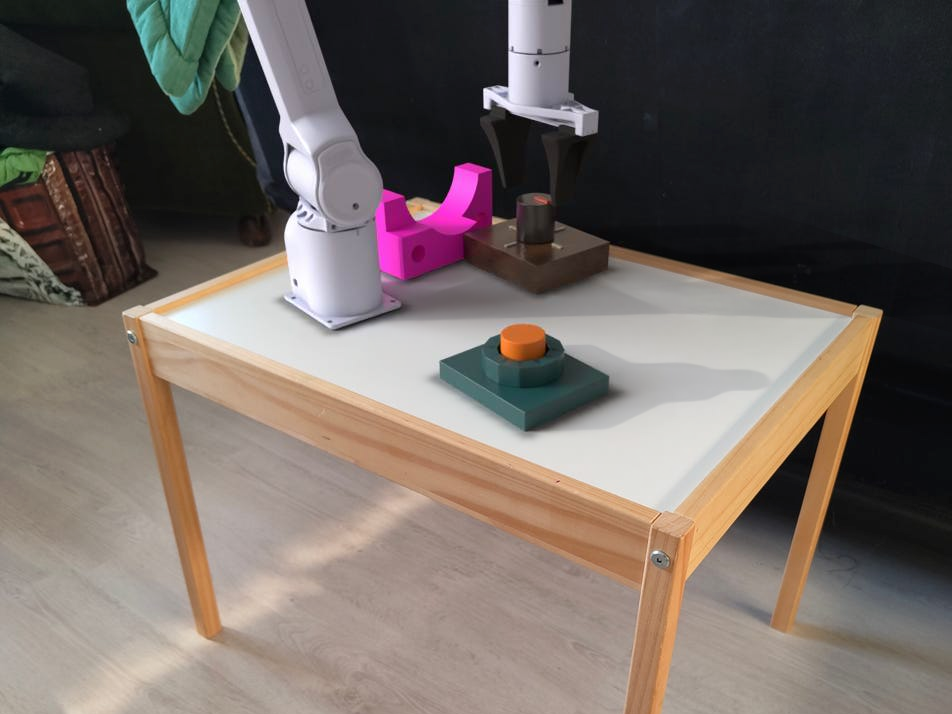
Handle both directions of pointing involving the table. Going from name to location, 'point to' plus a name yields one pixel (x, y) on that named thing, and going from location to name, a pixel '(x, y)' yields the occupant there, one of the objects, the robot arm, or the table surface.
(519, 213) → the heat dial
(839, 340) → the table surface
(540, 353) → the button
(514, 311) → the table surface
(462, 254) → the toy block
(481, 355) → the button base
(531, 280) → the dial panel
